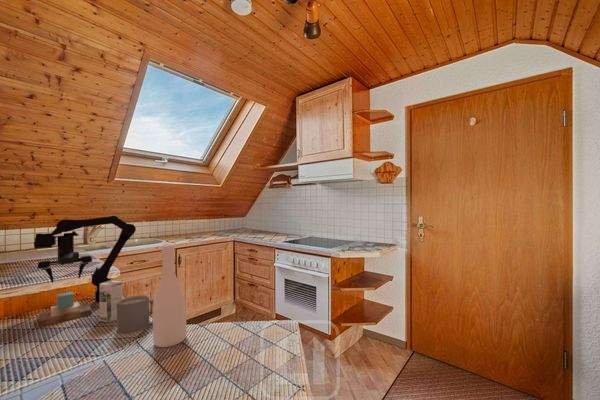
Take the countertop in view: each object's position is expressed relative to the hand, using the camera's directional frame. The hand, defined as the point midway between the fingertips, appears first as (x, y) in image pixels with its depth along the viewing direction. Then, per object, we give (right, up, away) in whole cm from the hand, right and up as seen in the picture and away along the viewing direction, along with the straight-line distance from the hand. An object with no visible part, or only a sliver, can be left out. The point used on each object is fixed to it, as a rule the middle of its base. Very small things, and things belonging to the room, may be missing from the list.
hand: (66, 280), depth 125 cm
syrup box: (+34, -10, -19) cm, 40 cm away
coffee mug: (+49, -9, -26) cm, 56 cm away
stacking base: (+11, -11, -13) cm, 20 cm away
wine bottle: (+67, -8, -39) cm, 78 cm away
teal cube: (+11, -7, -13) cm, 18 cm away
